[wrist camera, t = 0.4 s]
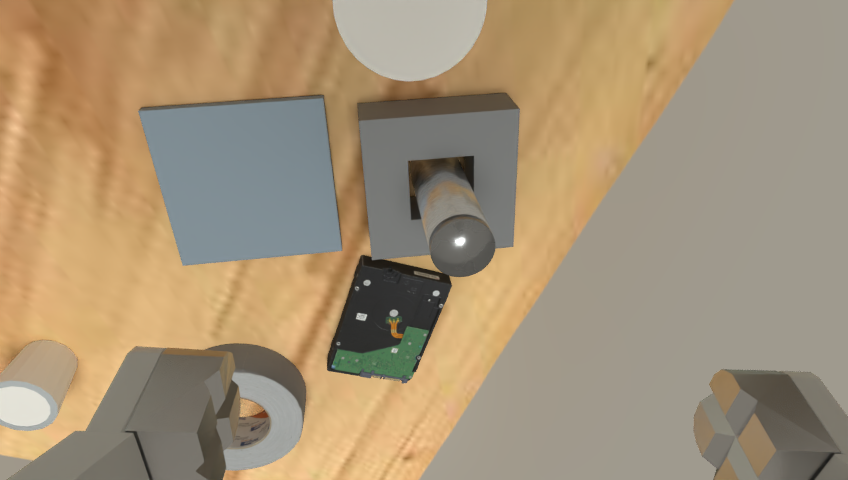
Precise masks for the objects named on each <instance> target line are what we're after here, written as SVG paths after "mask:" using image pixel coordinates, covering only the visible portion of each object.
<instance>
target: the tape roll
mask: <svg viewBox="0 0 848 480" xmlns="http://www.w3.org/2000/svg"><path fill="white" fill-rule="evenodd" d="M206 350H212V351H228V352H231V353H233V358H234V363H235V370H234V373H233V376H232V380H233V381H234V382H235V383H236V384H237V385H238V386H239V392H240V398H242V399H246V400H250V401H253V402H255V403H257V404H258V405H260V406H261V407H262V408H263V409H264V411H263V412H261V413H259V414H256V415H253V416H249V417H239V422H238V428H237V431H236V435H235V439H234V442H233V443H232V444H231V445H230V446H229V447H228V448H227V449H225V450H224V451H223V452H224V457H225V462H226V470H245V469H252V468H257V467H261V466H264V465H267V464H270V463H272V462H274V461H276V460H278V459H280V458H282V457H283V456H285V455H286V454H287V453H288V452H290V451H291V450H292V449H293V448H294V446H295V445H296V444H297V442H298V441H299V440H300V436H301V433H302V428H303V422H304V412H305V402H306V386H305V382H304V379H303V377H302V375H301V373H300V372H299V370H298V369H297V368H296V367H295V365H294V364H293V363H291V362H290V361H289V360H288V359H287V358H285V357H284V356H282V355H281V354H279V353H277V352H275V351H273V350H270V349H268V348H265V347H261V346H257V345H252V344H224V345H219V346H215V347H211V348H208V349H206Z"/></svg>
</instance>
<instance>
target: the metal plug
mask: <svg viewBox="0 0 848 480" xmlns="http://www.w3.org/2000/svg"><path fill="white" fill-rule="evenodd" d="M409 170H410V175H411V179H412V183H413V187H414V191H415V195H416V199H417V203H418V207H419V211H420V215H421V219H422V223H423V227H424V231H425V235H426V239H427V243H428V247H429V250H430V254H431V258H432V261H433V263H434V265H435V266H436V267H437V268H438V269H439V270H440V271H441V272H443V273H444V274H447V275H450V276H454V277H465V276H470V275H473V274H476V273H477V272H479V271H481V270H482V269H484V268H485V267H486V266H487V265H488V264H489V262H490V261H491V259H492V258H493V255H494V252H495V239H494V236H493V234H492V232H491V230H490V227H489V225H488V223H487V221H486V219H485V216H484V214H483V212H482V210H481V208H480V205H479V203H478V201H477V199H476V197H475V194H474V192H473V190H472V188H471V186H470V183H469V181H468V179H467V177H466V175H465V172H464V170H463V168H462V166H461V164H460V161H459V159H458V157H450V158H437V159H425V160H413V161H411V162H410V167H409Z"/></svg>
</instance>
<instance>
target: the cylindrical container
mask: <svg viewBox="0 0 848 480" xmlns="http://www.w3.org/2000/svg"><path fill="white" fill-rule="evenodd" d="M332 1H333V11H334V17H335V21H336V24H337V27H338V31H339V33H340V35H341V37H342V39H343V41H344V43H345V44H346V46H347V48H348V49H349V50H350V51H351V53H352V54H353V55H354V56H355V57H356V59H357V60H359V61H360V62H361V63H362V64H363V65H365V66H366V67H367V68H368V69H370V70H372V71H374V72H375V73H377V74H379V75H381V76H384V77H387V78H390V79H393V80H401V81H420V80H425V79H428V78H432V77H436V76H438V75H440V74H442V73H444V72H446V71H448V70H449V69H451V68H452V67H453V66H454V65H456V64H457V63H458V62H460V61H461V60H462V59H463V58H464V56H465V55H466V54H467V53H468V52H469V51H470V49H471V48H472V47H473V45H474V43H475V41H476V40H477V38H478V36H479V34H480V31H481V29H482V26H483V23H484V20H485V15H486V9H487V0H332Z"/></svg>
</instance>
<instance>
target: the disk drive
mask: <svg viewBox="0 0 848 480" xmlns="http://www.w3.org/2000/svg"><path fill="white" fill-rule="evenodd" d="M451 287H452V285H451V281H450V278H449V275H447V274H444V273H439V272H435V271H431V270H427V269H422V268H418V267H414V266H409V265H405V264H401V263H396V262H392V261H387V260H383V259H379V260H372V257H369V256H365V255H362V256H361V257H360V261H359V264H358V265H357V268H356V271H355V274H354V279H353V282H352V285H351V288H350V291H349V294H348V297H347V300H346V303H345V306H344V309H343V312H342V315H341V319H340V321H339V325H338V327H337V330H336V334H335V336H334V338H333V340H332V344H331V348H330V351H329V353H328V358H327V370H328V371H332V372H338V373H344V374H350V375H356V376H360V377H366V378H371V376H372V375H373V377H375V378H380V379H381V378H382V377H383V379H388V380H394V381H400V380H401V381H402V383H407V381H409V380H410V379H411V378H412V377H413V374H414V372H416V370H417V368H418V365H419V362H420V360H421V357H422V355H423V353H424V350H425V348H426V346H427V344H428V341H429V339H430V336H431V334H432V332H433V329H434V327H435V324H436V322H437V320H438V317H439V315H440V313H441V311H442V308H443V306H444V304H445V302H446V300H447V297H448V294H449V292H450V289H451Z"/></svg>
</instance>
